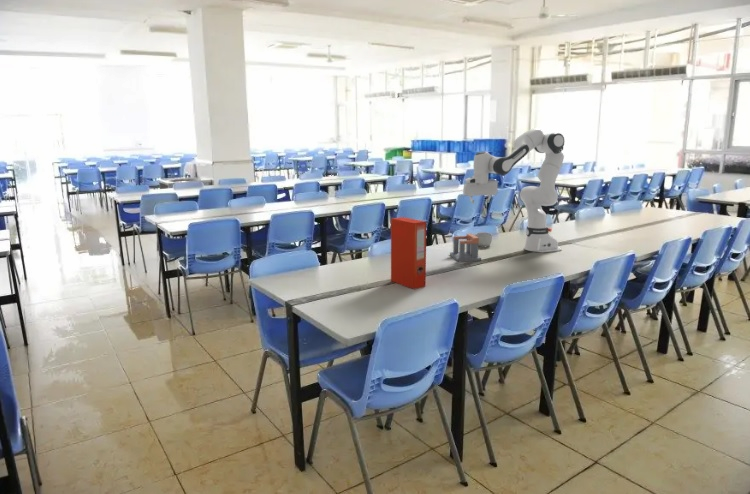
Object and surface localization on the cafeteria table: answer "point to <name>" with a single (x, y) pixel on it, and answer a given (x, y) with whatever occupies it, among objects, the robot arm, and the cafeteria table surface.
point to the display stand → (470, 252)
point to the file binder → (408, 252)
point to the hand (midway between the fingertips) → (480, 202)
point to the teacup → (484, 238)
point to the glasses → (469, 236)
